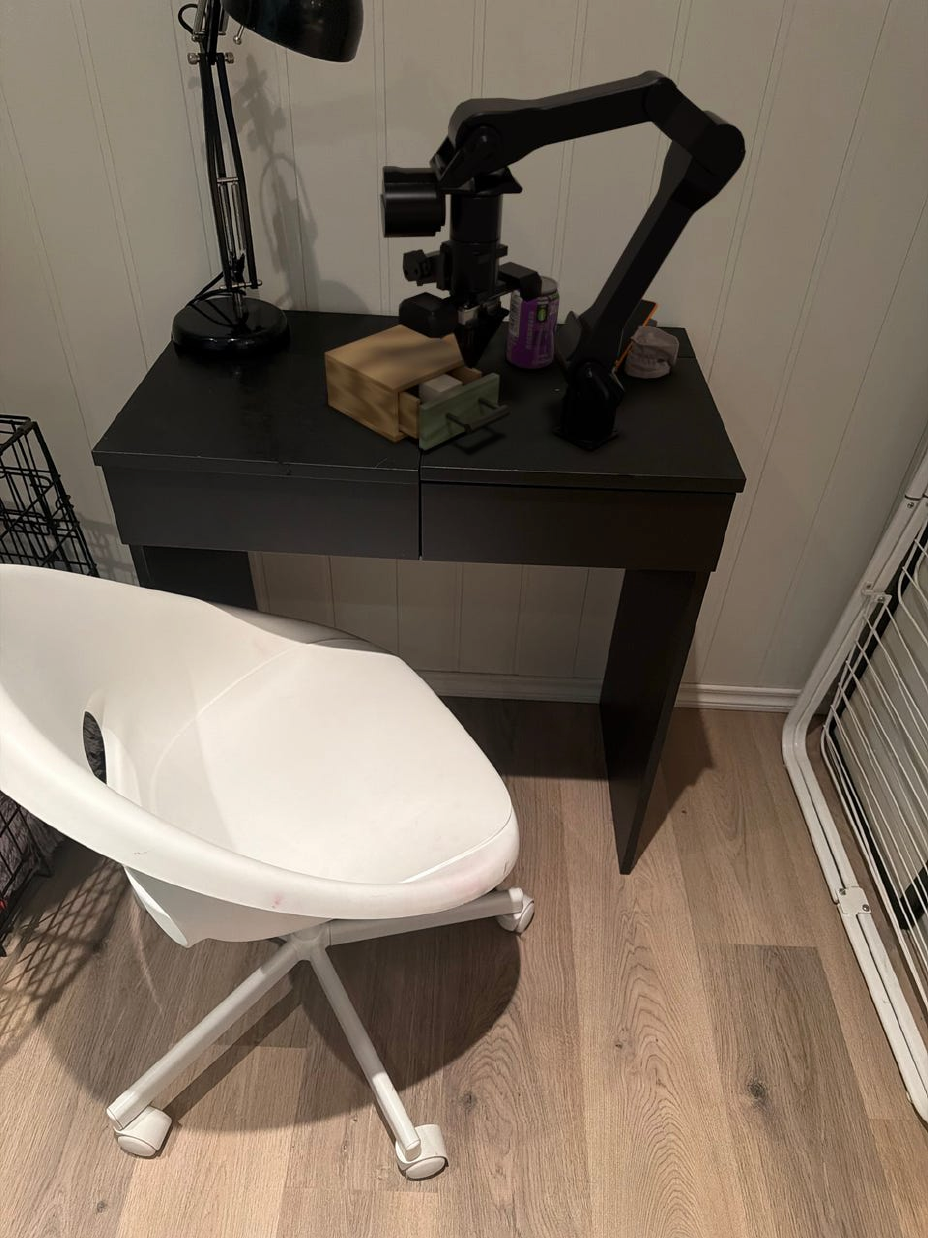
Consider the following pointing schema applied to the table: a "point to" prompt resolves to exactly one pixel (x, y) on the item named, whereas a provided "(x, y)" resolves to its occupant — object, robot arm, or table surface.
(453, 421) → the drawer
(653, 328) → the dental mold
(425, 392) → the block
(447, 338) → the coaster
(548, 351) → the beverage can
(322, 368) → the table surface
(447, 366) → the cabinet
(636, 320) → the smartphone
